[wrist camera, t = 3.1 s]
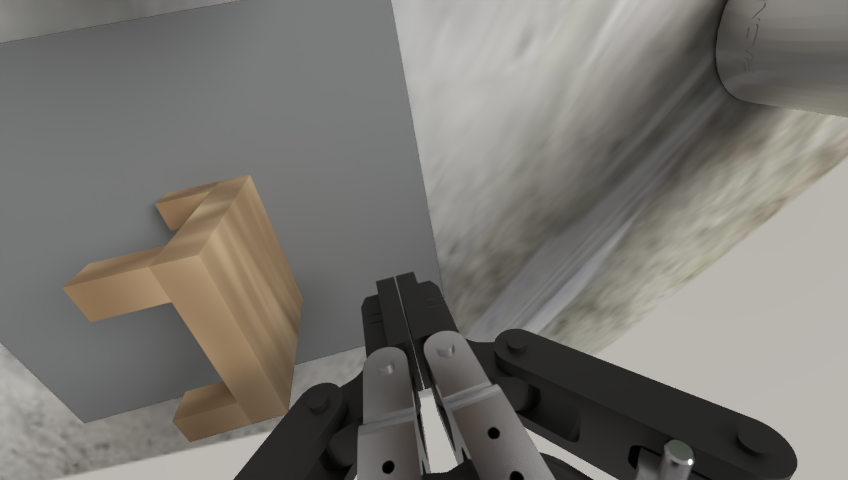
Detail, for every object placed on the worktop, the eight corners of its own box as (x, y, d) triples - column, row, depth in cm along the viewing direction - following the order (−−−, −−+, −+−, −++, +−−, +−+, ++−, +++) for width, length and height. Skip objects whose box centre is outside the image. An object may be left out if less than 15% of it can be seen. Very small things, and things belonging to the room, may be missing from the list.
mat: (385, -25, 16) (386, -26, 16) (446, 318, 26) (448, 322, 26) (-246, 88, 14) (-260, 89, 13) (87, 417, 24) (84, 423, 23)
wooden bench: (249, 174, 18) (198, 254, 11) (302, 298, 22) (288, 413, 15) (167, 192, 18) (61, 287, 11) (235, 316, 22) (189, 441, 15)
